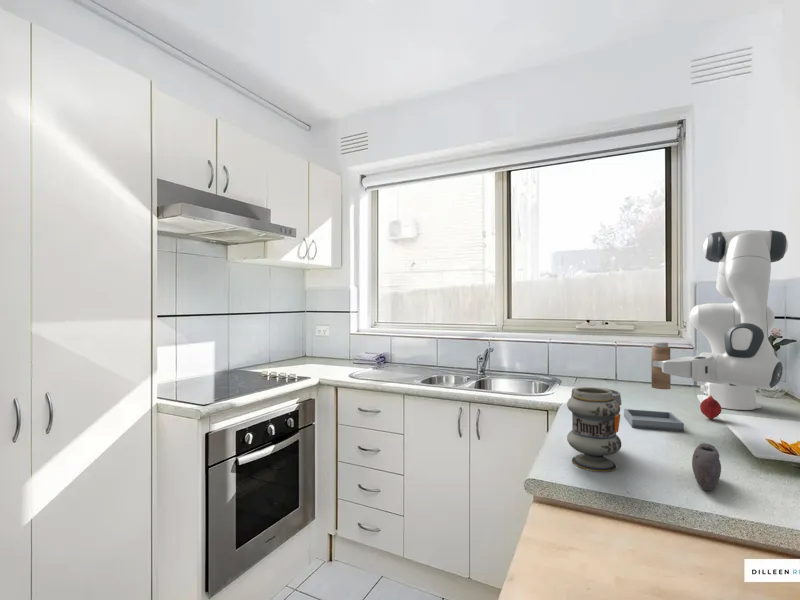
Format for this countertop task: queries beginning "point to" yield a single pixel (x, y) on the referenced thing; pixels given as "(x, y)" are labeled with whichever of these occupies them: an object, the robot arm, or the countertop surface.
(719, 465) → the perforated stone tool
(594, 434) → the apothecary jar
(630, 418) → the tray
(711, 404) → the onion
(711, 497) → the countertop surface
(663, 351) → the pepper mill
